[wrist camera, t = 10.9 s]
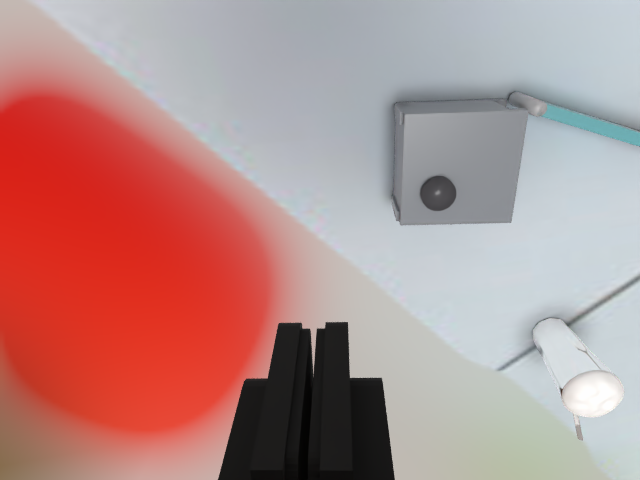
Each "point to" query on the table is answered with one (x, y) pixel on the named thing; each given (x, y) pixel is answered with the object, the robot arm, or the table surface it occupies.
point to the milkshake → (577, 372)
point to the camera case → (456, 161)
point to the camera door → (575, 118)
